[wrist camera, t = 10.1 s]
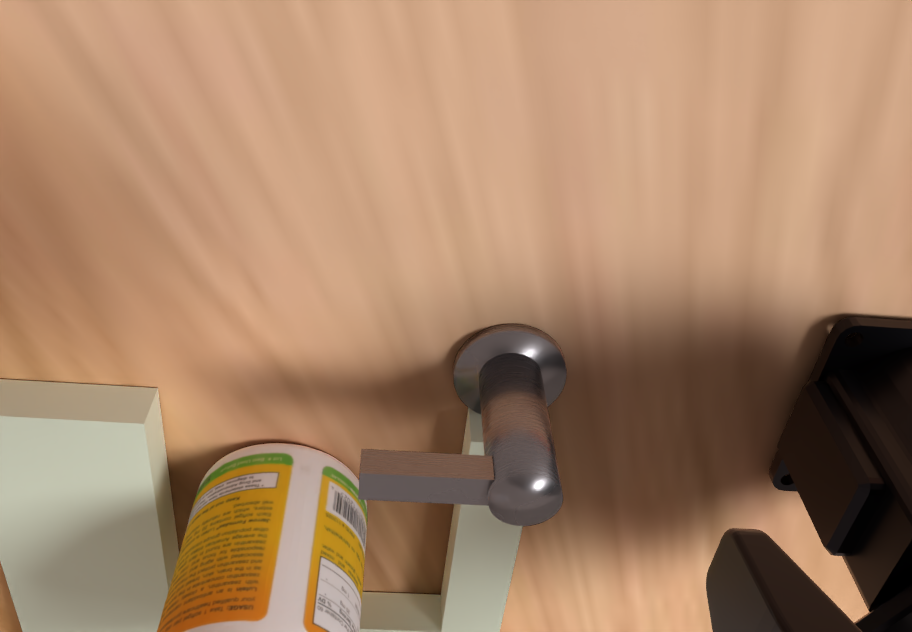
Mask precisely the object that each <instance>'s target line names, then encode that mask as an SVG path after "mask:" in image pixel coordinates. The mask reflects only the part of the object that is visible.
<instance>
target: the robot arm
mask: <svg viewBox="0 0 912 632" xmlns="http://www.w3.org/2000/svg"><path fill="white" fill-rule="evenodd" d="M852 333H856V334H855V335H854V336H852V337H851V338H847V336H848V335H850V334H852ZM787 474H788V475H787ZM769 476H770V478H771V480H772V483H773V485H774V487H775V488H777V489H778V490H783V491H798V493H799V495H800V497H801V499H802V501H803V503H804V505H805V508H806V510H807V512H808V514H809V516H810V518H811V520H812V522H813V525H814V527H815V529H816V531H817V533H818V535H819V537H820V539H821V542H822V544H823V546H824V547H825V548H826V550H827V551H828V552H829V553H830V554H831V555H835V556H842V557H843V559H844V561H845V563H846V565H847V567H848V569H849V571H850V573H851V575H852V577H853V579H854V581H855V583H856V585H857V588H858V590H859V592H860V594H861V596H862V598H863V600H864V602H865V604H866V606H867V608H868V610H869V613H868V614H866V615H865V616H863V617H862V618H861V619H859V620H858V621H856V622H855V623H853V622H852V621H851V620H850V619H849V618H848V617H847V615H846V614H845V613H844V612H843V611H842V610H841V609H840V608H839V607H838V606H837V605H836V604H835V603H834V602H833V601H832V600H831V599H830V598H829V597H828V596H827V595H826V594H825V593H824V592H823V591H822V590H821V589H820V588H819V587H818V586H817V585H816V584H815V583H814V582H813V581H812V580H811V579H810V578H809V577H808V576H807V575H806V574H805V573H804V572H803V571H802V570H801V568H800V567H799V566H798V565H797V564H796V563H795V562H794V561H793V560H792V559H791V558H790V557H789V556H788V555H787V554H786V553H785V552H784V551H783V550H782V549H781V548H780V547H779V546H778V545H777V544H776V543H775V542H774V541H773V540H772V539H771V538H770V537H769V536H768V535H767V534H766V533H764V532H763V531H760V530H756V529H737V528H732V529H729V530H727V531H726V532H725V533H724V535H723V537H722V539H721V541H720V544H719V546H718V548H717V551H716V553H715V555H714V558H713V560H712V562H711V565H710V567H709V570H708V573H707V578H706V591H707V598H708V604H709V611H710V617H711V623H712V630H713V632H912V321H909V320H894V319H879V318H865V317H848V318H845V319H843V320H840V321H839V322H838V323H836V324H835V325H834V327H833V328H832V330H831V331H830V334H829V336H828V338H827V340H826V343H825V345H824V347H823V349H822V352H821V354H820V356H819V359H818V361H817V363H816V365H815V368H814V370H813V372H812V374H811V377H810V379H809V381H808V383H807V384H806V385H805V386H804V387H803V389H802V391H801V393H800V395H799V398H798V400H797V402H796V404H795V407H794V409H793V411H792V413H791V416H790V418H789V420H788V423H787V425H786V427H785V429H784V432H783V434H782V436H781V438H780V441H779V443H778V451H777V453H776V455H775V458H774V460H773V462H772V464H771V467H770V469H769Z"/></svg>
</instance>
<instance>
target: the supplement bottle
mask: <svg viewBox="0 0 912 632" xmlns="http://www.w3.org/2000/svg"><path fill="white" fill-rule="evenodd" d="M358 494H359V480H358V479H357V477H356V476H355V475H354V474H353V473H352V471H351V470H350V469H349V468H348V467H346V466H345V465H344V464H343V463H341V462H340V461H339V460H337V459H336V458H334V457H332V456H331V455H329V454H327V453H324V452H322V451H319V450H316V449H313V448H310V447H306V446H301V445H295V444H285V443H268V444H259V445H253V446H249V447H245V448H242V449H239V450H237V451H234V452H232V453H230V454H228V455H226V456H224V457H223V458H221V459H220V460H219V461H218V462H216V463H215V464H214V465H213V466H212V467H211V468H210V469H209V471H208V472H207V473H206V475H205V476H204V478H203V480H202V481H201V483H200V486H199V488H198V492H197V495H196V497H195V500H194V504H193V507H192V511H191V514H190V517H189V521H188V525H187V529H186V532H185V536H184V539H183V543H182V546H181V550H180V553H179V557H178V560H177V564H176V567H175V571H174V574H173V578H172V581H171V585H170V588H169V591H168V594H167V599H166V601H165V604H164V608H163V611H162V615H161V619H160V623H159V626H158V630H157V632H359V631H360V617H361V605H362V591H363V576H364V562H365V548H366V533H367V501H366V500H360V499H358Z"/></svg>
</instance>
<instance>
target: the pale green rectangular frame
mask: <svg viewBox="0 0 912 632" xmlns="http://www.w3.org/2000/svg"><path fill="white" fill-rule="evenodd" d="M462 454H465V455H484V444H483V431H482V418H481V414H478V413H476V412H475V411H473V410H471V409H470V408H469V407H468V414H467V420H466V427H465V434H464V441H463V447H462ZM522 528H523V526H515V525H510V524H507V523H504V522H502V521H500V520H499V519H497V518H496V517H495V516H494V515H493V514H492V513H491V511H490V509H489V506H485V505H464V504H454V508H453V515H452V522H451V528H450V535H449V542H448V549H447V555H446V562H445V569H444V575H443V582H442V589H441V595H434V594H409V593H383V592H362V605H361V617H360V631H359V632H500V627H501V623H502V618H503V614H504V609H505V605H506V600H507V596H508V591H509V587H510V582H511V578H512V573H513V568H514V564H515V559H516V555H517V550H518V546H519V541H520V537H521V532H522ZM178 557H179V548H178V540H177V532H176V524H175V517H174V509H173V501H172V493H171V486H170V478H169V470H168V462H167V455H166V447H165V439H164V431H163V424H162V416H161V408H160V400H159V393H158V388H147V387H129V386H112V385H95V384H77V383H60V382H43V381H25V380H8V379H0V562H1V565H2V569H3V572H4V575H5V578H6V581H7V584H8V587H9V591H10V594H11V597H12V600H13V603H14V606H15V610H16V613H17V616H18V619H19V622H20V625H21V628H22V632H157V630H158V626H159V623H160V619H161V615H162V611H163V608H164V604H165V601H166V599H167V594H168V591H169V588H170V585H171V581H172V578H173V574H174V571H175V567H176V564H177V560H178Z"/></svg>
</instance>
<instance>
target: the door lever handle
mask: <svg viewBox="0 0 912 632" xmlns="http://www.w3.org/2000/svg"><path fill="white" fill-rule="evenodd" d="M453 375H454V386H455V389H456V392H457V394H458V396H459V398H460V399H461V400H462V402H463V403H464V404H465V405H466V406H467V407H469V408H470V409H471V410H473V411H475V412H476V413H478V414H481V418H482V431H483V444H484V455H465V454H446V453H427V452H408V451H389V450H370V449H362V451H361V463H360V475H359V494H358V499H360V500H380V501H401V502H422V503H443V504H464V505H485V506H489V509H490V511H491V513H492V514H493V515H494V516H495V517H496V518H497V519H499V520H500V521H502V522H504V523H507V524H510V525H515V526H530V525H535V524H539V523H542V522H544V521H546V520H548V519H550V518H551V517H553V516H554V515H555V514H556V513H557V512H558V511H559V509H560V507H561V505H562V502H563V494H562V488H561V482H560V476H559V471H558V465H557V459H556V453H555V447H554V442H553V436H552V430H551V424H550V419H549V413H548V406H549V405H550V404H552V403H553V402H554V401H555V400H556V399H557V397H558V396H559V395H560V393H561V392H562V390H563V388H564V385H565V382H566V366H565V361H564V356H563V353H562V351H561V349H560V347H559V345H558V344H557V343H556V342H555V340H554V339H553V338H551V337H550V336H549V335H548V334H546V333H545V332H543V331H541V330H539V329H536V328H534V327H531V326H526V325H520V324H505V325H498V326H494V327H491V328H487V329H485V330H483V331H481V332H479V333H477V334H475V335H474V336H472V337H471V338H470V339H469V340H468V341H467V342H465V343H464V345H463V346H462V347H461V348H460V350H459V352H458V353H457V356H456V358H455V361H454V368H453Z"/></svg>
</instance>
